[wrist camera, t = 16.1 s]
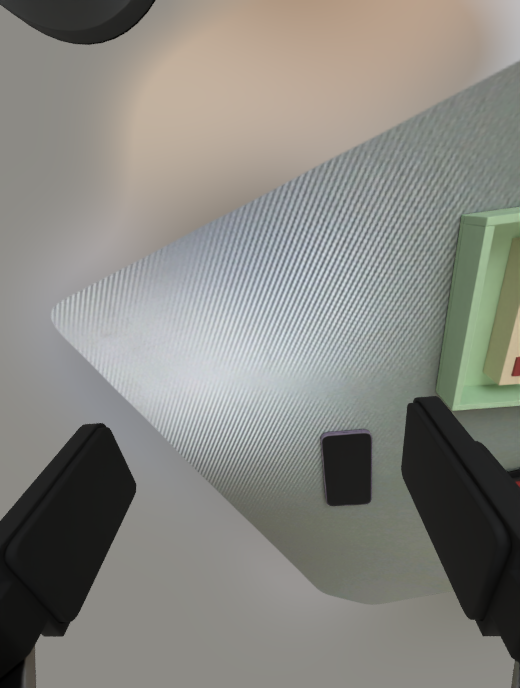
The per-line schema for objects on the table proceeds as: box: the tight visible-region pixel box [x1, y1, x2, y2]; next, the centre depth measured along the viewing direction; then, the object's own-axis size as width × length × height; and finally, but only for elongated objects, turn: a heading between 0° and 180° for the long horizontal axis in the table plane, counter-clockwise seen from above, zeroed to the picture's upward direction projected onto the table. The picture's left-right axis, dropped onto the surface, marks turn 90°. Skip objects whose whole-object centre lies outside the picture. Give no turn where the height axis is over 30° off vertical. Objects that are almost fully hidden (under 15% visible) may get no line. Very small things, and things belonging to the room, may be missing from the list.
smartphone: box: [321, 429, 372, 506], centre depth 46 cm, size 7×1×15 cm
